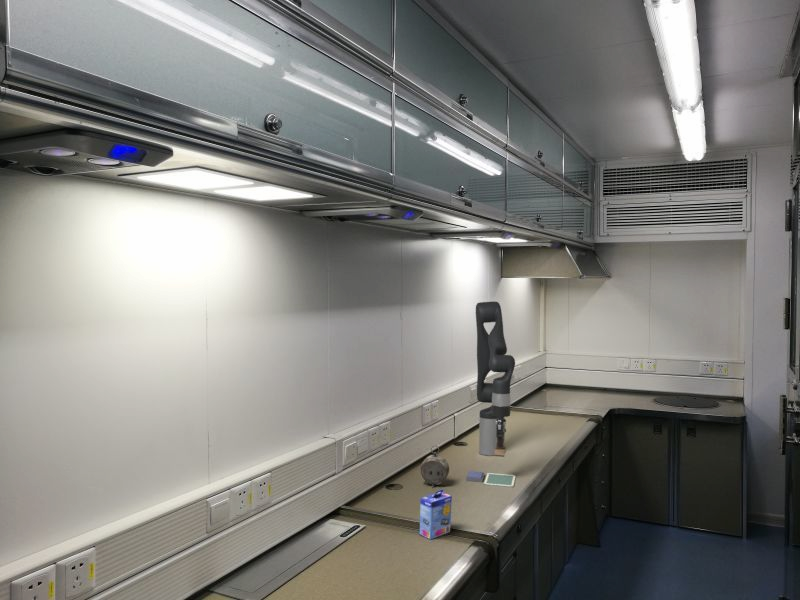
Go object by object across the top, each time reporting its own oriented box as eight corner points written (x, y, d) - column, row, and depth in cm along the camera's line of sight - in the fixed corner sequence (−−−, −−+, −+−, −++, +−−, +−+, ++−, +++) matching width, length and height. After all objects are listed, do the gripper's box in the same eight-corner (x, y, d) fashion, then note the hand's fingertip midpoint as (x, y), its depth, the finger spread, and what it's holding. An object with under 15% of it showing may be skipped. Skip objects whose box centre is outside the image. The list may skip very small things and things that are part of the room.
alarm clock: (449, 485, 252) (449, 444, 251) (446, 489, 246) (447, 448, 246) (422, 482, 255) (422, 442, 254) (419, 486, 249) (419, 446, 249)
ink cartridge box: (431, 540, 198) (431, 494, 198) (418, 535, 202) (419, 490, 202) (451, 532, 205) (452, 487, 205) (439, 527, 209) (439, 483, 209)
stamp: (495, 452, 262) (495, 427, 262) (506, 453, 261) (506, 428, 261) (494, 456, 256) (494, 430, 256) (505, 457, 255) (505, 431, 255)
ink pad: (468, 474, 266) (468, 470, 266) (484, 475, 264) (484, 471, 264) (466, 480, 258) (466, 476, 258) (482, 482, 256) (482, 477, 256)
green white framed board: (487, 473, 267) (487, 472, 267) (515, 476, 264) (515, 475, 264) (483, 484, 253) (483, 483, 253) (513, 487, 250) (513, 486, 250)
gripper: (493, 400, 266) (492, 441, 266) (490, 406, 252) (489, 449, 252) (511, 401, 264) (510, 442, 264) (509, 407, 250) (508, 451, 251)
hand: (500, 445), depth 258 cm, fingers closed on stamp, 3 cm apart
